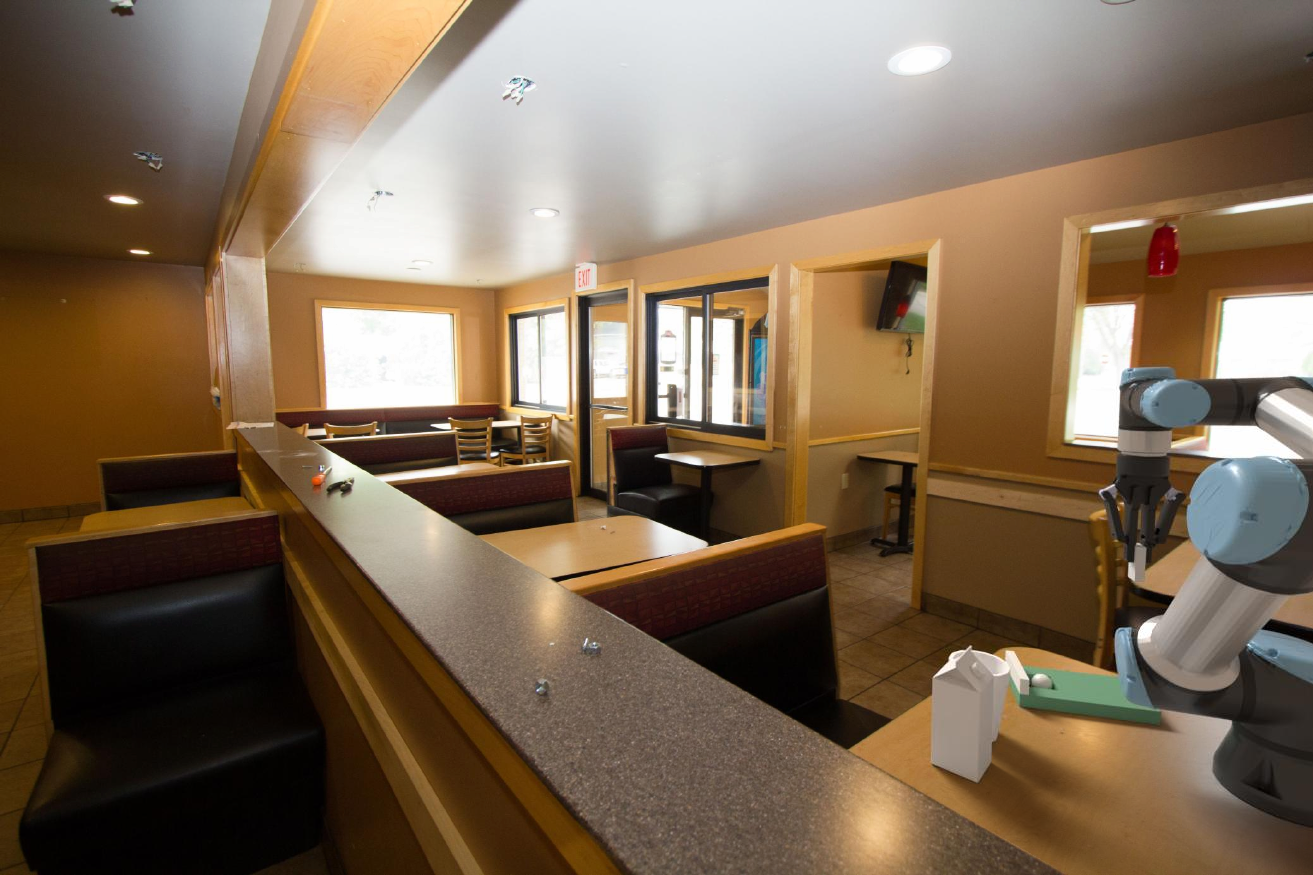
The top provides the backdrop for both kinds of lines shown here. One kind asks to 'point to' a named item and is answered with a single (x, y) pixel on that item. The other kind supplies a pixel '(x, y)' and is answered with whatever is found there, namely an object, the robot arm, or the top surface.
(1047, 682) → the golf ball
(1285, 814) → the robot arm
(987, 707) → the milk carton
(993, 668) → the foam cup
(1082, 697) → the putting board
